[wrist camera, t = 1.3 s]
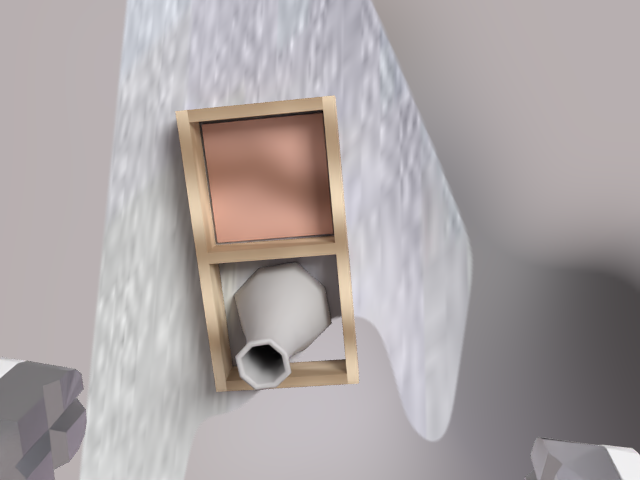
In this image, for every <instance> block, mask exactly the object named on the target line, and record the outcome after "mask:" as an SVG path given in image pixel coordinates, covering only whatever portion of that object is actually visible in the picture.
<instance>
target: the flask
mask: <svg viewBox="0 0 640 480" xmlns="http://www.w3.org/2000/svg"><path fill="white" fill-rule="evenodd" d="M234 296H235V300H236V305H237V309H238V314H239V318H240V322H241V327H242V331H243V333H244V335H245V337H246V345H245V346H244V347H243V348H242V350H241V351H240V352H239V353H238V354H237V355H236V356H235V359H236V363H237V367H238V372H239V376H240V378H242V379H243V380H244V381H245V382H246V383H247V384H249V385H250V386H251V387H252V388H253V389H254V390H263V389H270V388H276V387H277V386H278V385H279V384H280V383H281V382H283V381H284V380H285V379H286V378H287V377H288V376H289V375H290V374H291V368H290V363H289V358H290V356H292V355H294V354H296V353H298V352H300V351H303V350H305V349H306V348H307V347H308V346H309V345H310V344H311V343H312V342H313V341H314V340H315V339H316V338H317V337H318V336H319V335H320V334H321V333H322V332H323V331H324V330H325V329H326V328H327V327H328V326H329V325H330V324H331V323H332V322H331V317H330V312H329V307H328V301H327V296H326V291H325V287H324V286H323V285H322V284H320V283H319V282H318V281H317V280H316V279H315V278H314V277H313V276H312V275H310V274H309V273H308V272H307V271H306V270H305V269H304V268H303V267H302V266H300V265H299V264H298V263H297V262H293V263H287V264H281V265H275V266H269V267H263V268H259V269H258V270H257V271H256V272H255V273H254V274H253V275H252V276H251V277H250V278H249V279H248V280H247V282H246V283H245V284H244V285H243V286H242V287H241V288H240V289H239V290H238V291H237V292H236V293H235V294H234Z"/></svg>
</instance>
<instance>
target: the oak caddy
mask: <svg viewBox="0 0 640 480" xmlns="http://www.w3.org/2000/svg"><path fill="white" fill-rule="evenodd" d="M318 110H323V113H324V124H325V135H326V146H327V157H328V168H329V179H330V191H331V202H332V213H333V224H334V235H335V236H322V237H309V238H297V239H284V240H272V241H259V242H247V243H234V244H222V245H216V242H215V234H214V227H213V220H212V213H211V205H210V198H209V191H208V183H207V176H206V169H205V162H204V154H203V147H202V140H201V133H200V125H199V122H205V121H215V120H225V119H236V118H246V117H256V116H266V115H277V114H287V113H297V112H308V111H318ZM175 112H176V119H177V125H178V132H179V139H180V146H181V153H182V160H183V167H184V173H185V180H186V187H187V194H188V201H189V208H190V215H191V221H192V228H193V235H194V242H195V249H196V256H197V263H198V269H199V276H200V283H201V290H202V297H203V304H204V311H205V317H206V324H207V331H208V338H209V345H210V352H211V359H212V365H213V372H214V379H215V386H216V392H223V391H239V390H254V389H253V388H252V387H251V386H250V385H249V384H247V383H246V382H245V381H244V380H243V379H242V378H240V376H239V372H238V367H237V366H233V365H232V358H231V351H230V343H229V336H228V329H227V322H226V314H225V307H224V300H223V293H222V285H221V278H220V271H219V263H229V262H242V261H255V260H268V259H281V258H294V257H307V256H320V255H333V254H336V257H337V268H338V279H339V291H340V302H341V313H342V323H343V335H344V346H345V357H346V359H343V360H328V361H311V362H295V363H290V368H291V374H290V375H289V376H288V377H287V378H286V379H285V380H284V381H283V382H281V383H280V384H279V385H278V386H277V387H276V388H290V387H307V386H323V385H341V384H358V383H359V370H358V357H357V345H356V334H355V322H354V310H353V298H352V286H351V274H350V263H349V251H348V239H347V227H346V215H345V204H344V192H343V180H342V168H341V157H340V145H339V133H338V121H337V110H336V98H335V96H325V97H315V98H305V99H295V100H285V101H275V102H265V103H254V104H244V105H234V106H224V107H214V108H204V109H194V110H184V111H175ZM202 132H203V140H204V147H205V154H206V162H207V169H208V176H209V184H210V191H211V198H212V205H213V213H214V220H215V227H216V235H217V242H218V243H221V242H233V241H246V240H258V239H271V238H283V237H296V236H308V235H321V234H333V224H332V213H331V202H330V191H329V180H328V169H327V158H326V147H325V136H324V125H323V114H322V113H317V114H307V115H296V116H286V117H276V118H265V119H255V120H245V121H234V122H224V123H214V124H203V125H202ZM270 389H273V388H270Z"/></svg>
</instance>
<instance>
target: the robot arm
mask: <svg viewBox="0 0 640 480" xmlns="http://www.w3.org/2000/svg"><path fill="white" fill-rule="evenodd" d="M83 389H84V388H83V381H82V374H81V373H80V372H79V371H77V370H76V369H72V368H67V367H61V366H55V365H49V364H43V363H37V362H31V361H23V360H18V359H12V358H5V357H0V480H55V478H54V469H56V468H58V467H60V466H62V465H64V464H66V463H68V462H69V461H70V460H71V459H72V457H73V456H74V455H75V454H76V452H77V451H78V449H79V447H80V445H81V442H82V440H83V437H84V435H85V429H86V422H87V419H86V409H85V408H84V407H83V405H82V404H81V403H80V402H79V400H78V399H77V397H78V395H79V394H80V393H81V392H82V390H83ZM530 456H531V460H532V463H533V466H534V470H533V471H532V472H531V473H529V474H528V475H527V476H525V479H524V480H640V455H639V454H638V453H637V452H636V451H635V450H633V449H632V448H625V447H616V446H607V445H599V446H598V445H592V444H585V443H577V442H571V441H564V440H557V439H549V438H542V437H537V439H536V441H535V442H534V445H533V448H532V452H531V455H530Z"/></svg>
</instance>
